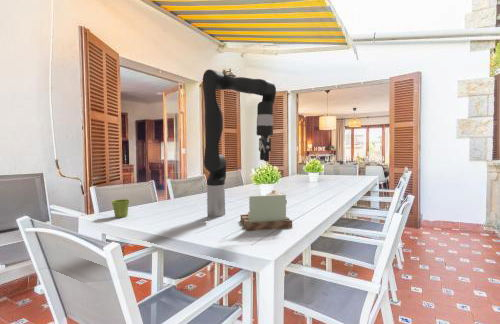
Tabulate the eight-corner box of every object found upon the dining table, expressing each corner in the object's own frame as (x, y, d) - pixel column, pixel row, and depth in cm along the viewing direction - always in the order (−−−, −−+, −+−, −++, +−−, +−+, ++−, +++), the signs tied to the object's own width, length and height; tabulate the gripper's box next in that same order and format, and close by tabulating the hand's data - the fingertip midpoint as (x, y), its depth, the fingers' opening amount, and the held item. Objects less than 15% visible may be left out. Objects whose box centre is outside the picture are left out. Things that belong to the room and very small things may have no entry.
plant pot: (107, 217, 159) (107, 201, 158) (121, 214, 168) (120, 198, 167) (121, 219, 155) (120, 202, 155) (134, 215, 164) (133, 199, 164)
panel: (250, 229, 128) (249, 196, 127) (249, 228, 129) (249, 196, 128) (286, 226, 131) (285, 194, 130) (285, 225, 132) (284, 194, 131)
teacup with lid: (264, 211, 169) (264, 191, 168) (268, 208, 177) (268, 188, 177) (285, 212, 165) (285, 191, 164) (288, 209, 174) (288, 189, 173)
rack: (247, 234, 125) (247, 223, 125) (240, 223, 143) (240, 214, 143) (292, 231, 129) (292, 220, 129) (280, 221, 147) (280, 212, 146)
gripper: (253, 125, 143) (253, 159, 144) (260, 123, 129) (259, 161, 130) (269, 126, 144) (268, 159, 145) (276, 124, 130) (276, 161, 131)
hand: (264, 160), depth 137 cm, fingers open, 8 cm apart
